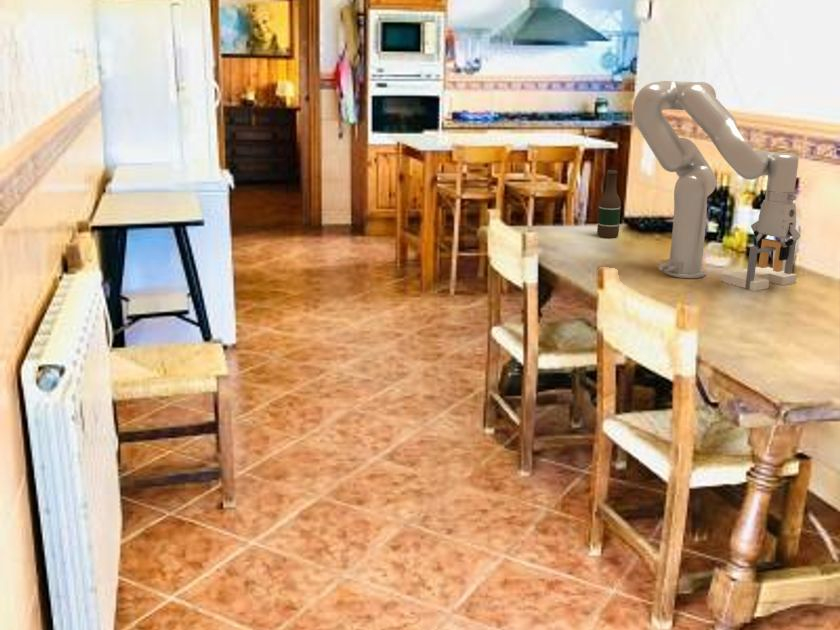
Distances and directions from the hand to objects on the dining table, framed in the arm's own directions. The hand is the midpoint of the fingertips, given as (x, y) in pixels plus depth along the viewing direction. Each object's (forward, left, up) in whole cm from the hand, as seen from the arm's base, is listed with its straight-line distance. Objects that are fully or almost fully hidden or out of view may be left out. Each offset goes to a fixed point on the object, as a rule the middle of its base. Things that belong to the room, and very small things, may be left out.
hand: (771, 256), depth 259 cm
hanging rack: (0, +3, -9) cm, 9 cm away
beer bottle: (+2, +72, -9) cm, 73 cm away
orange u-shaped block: (0, 0, -4) cm, 4 cm away
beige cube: (+18, +9, -9) cm, 22 cm away
